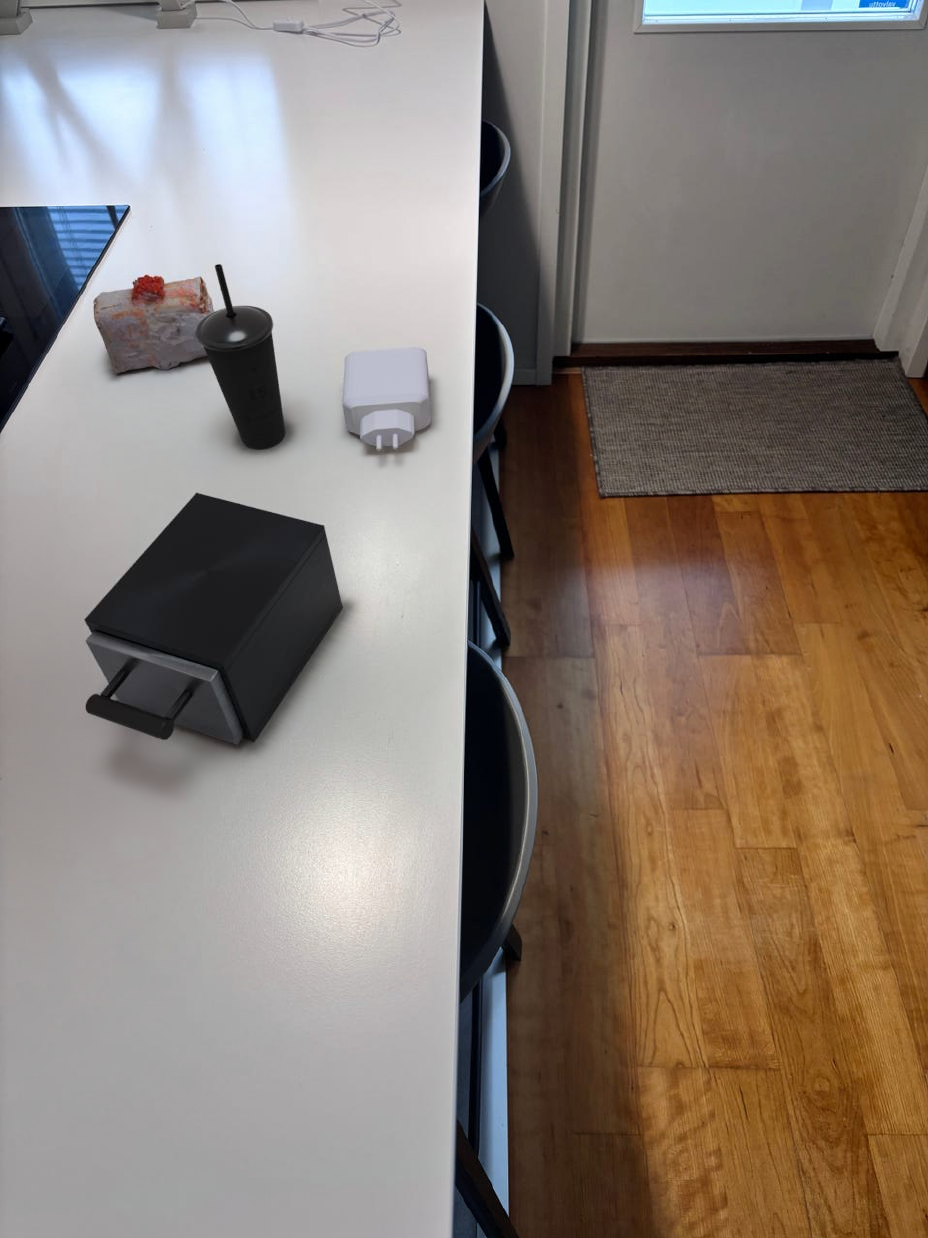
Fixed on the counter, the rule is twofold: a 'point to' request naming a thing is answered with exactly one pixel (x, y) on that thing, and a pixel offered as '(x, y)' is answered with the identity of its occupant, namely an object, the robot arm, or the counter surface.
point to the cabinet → (230, 599)
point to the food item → (153, 322)
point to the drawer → (160, 691)
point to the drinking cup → (245, 368)
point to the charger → (386, 395)
